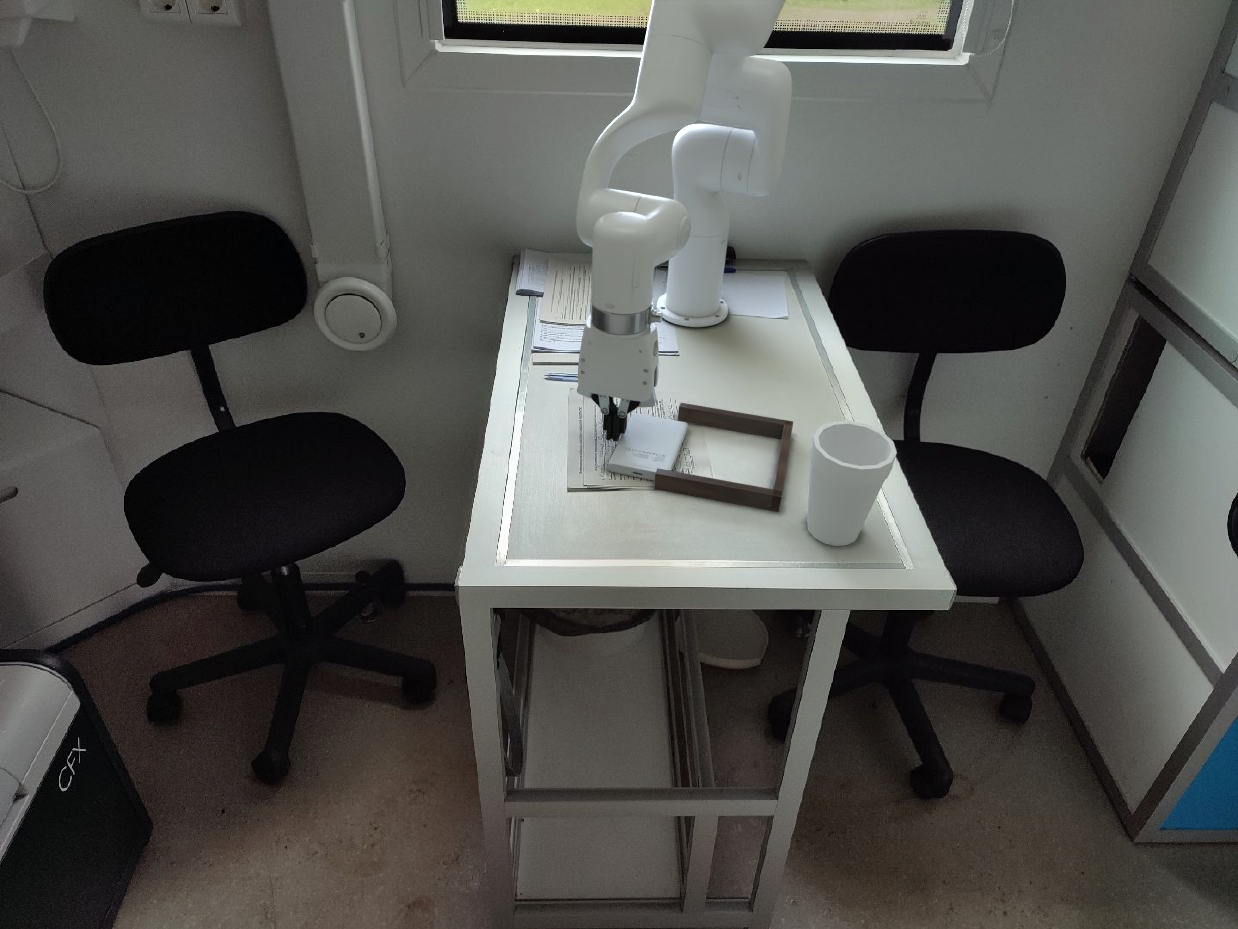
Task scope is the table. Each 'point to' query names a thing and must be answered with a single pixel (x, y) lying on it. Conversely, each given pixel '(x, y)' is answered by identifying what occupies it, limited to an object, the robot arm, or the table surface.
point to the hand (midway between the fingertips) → (614, 435)
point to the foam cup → (845, 478)
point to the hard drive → (647, 446)
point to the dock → (723, 488)
